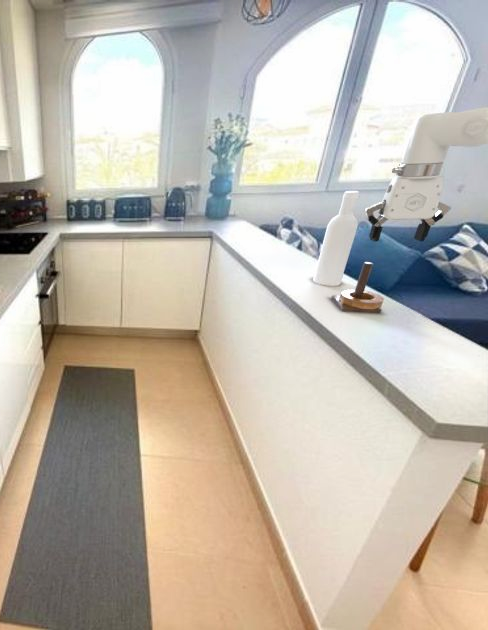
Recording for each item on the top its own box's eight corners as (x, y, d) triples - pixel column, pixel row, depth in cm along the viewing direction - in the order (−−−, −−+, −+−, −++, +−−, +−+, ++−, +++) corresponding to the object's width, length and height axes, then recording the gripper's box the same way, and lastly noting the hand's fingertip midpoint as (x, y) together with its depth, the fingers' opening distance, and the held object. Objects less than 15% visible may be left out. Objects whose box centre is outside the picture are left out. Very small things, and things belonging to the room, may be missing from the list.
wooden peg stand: (365, 301, 104) (380, 258, 98) (379, 314, 96) (397, 268, 90) (330, 299, 107) (343, 257, 101) (342, 312, 99) (356, 267, 93)
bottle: (346, 286, 115) (375, 192, 102) (322, 287, 115) (348, 193, 102) (330, 277, 122) (355, 189, 109) (307, 279, 122) (330, 190, 109)
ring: (370, 296, 104) (372, 290, 103) (388, 309, 95) (391, 303, 94) (334, 295, 106) (335, 289, 105) (348, 308, 98) (350, 301, 97)
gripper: (383, 174, 83) (362, 244, 91) (475, 169, 78) (446, 243, 85) (368, 172, 90) (351, 237, 97) (453, 167, 85) (428, 236, 92)
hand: (395, 240), depth 91 cm, fingers open, 9 cm apart
